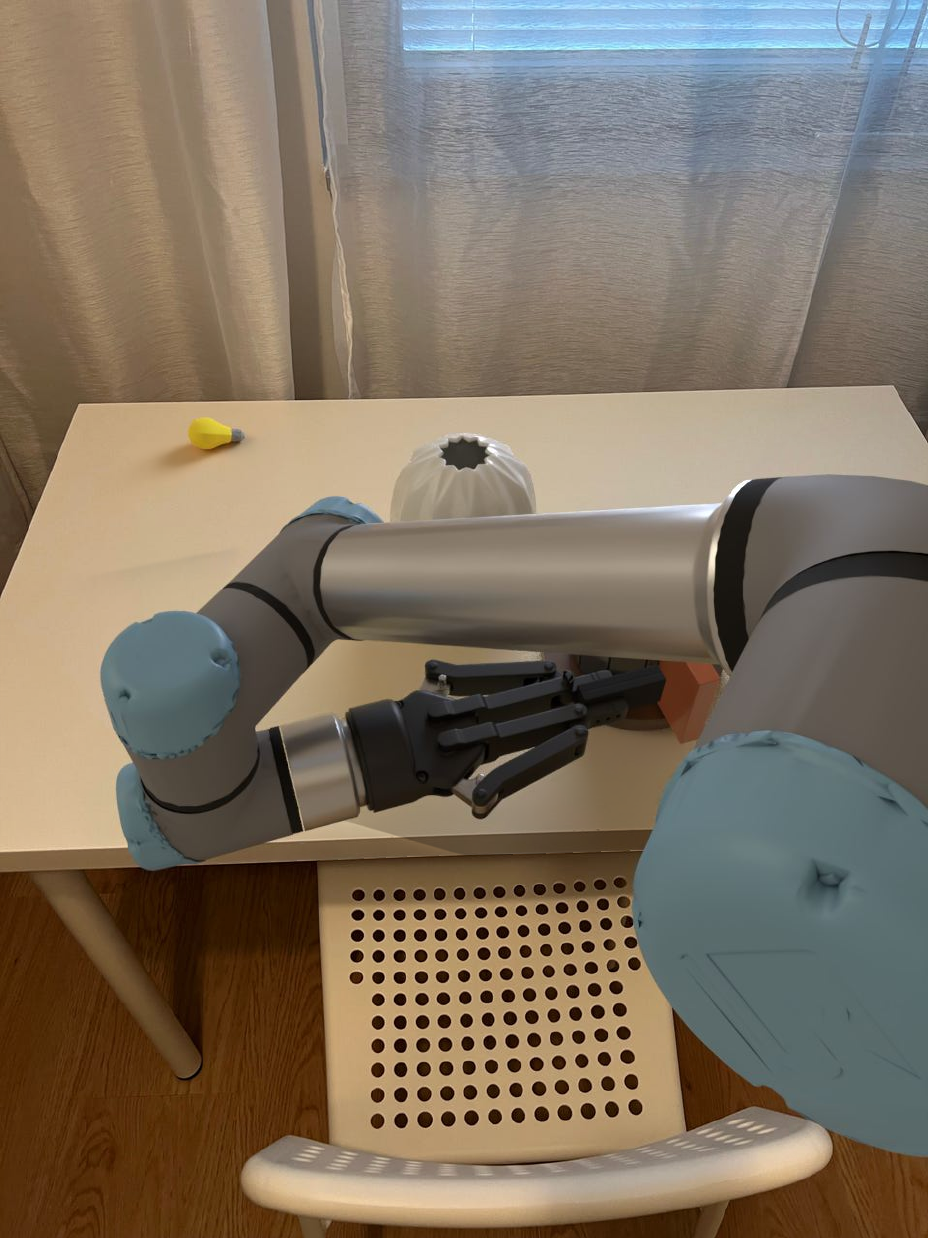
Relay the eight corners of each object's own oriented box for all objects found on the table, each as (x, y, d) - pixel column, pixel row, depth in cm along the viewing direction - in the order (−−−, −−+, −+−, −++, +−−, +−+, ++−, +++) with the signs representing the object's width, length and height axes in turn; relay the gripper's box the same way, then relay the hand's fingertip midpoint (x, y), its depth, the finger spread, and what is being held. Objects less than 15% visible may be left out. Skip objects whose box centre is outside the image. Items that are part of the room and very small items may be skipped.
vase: (533, 515, 96) (542, 407, 86) (531, 617, 87) (541, 510, 77) (400, 508, 97) (394, 401, 87) (384, 609, 88) (375, 502, 78)
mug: (720, 618, 85) (744, 544, 78) (696, 752, 76) (722, 681, 69) (585, 588, 88) (597, 512, 80) (546, 713, 78) (556, 641, 71)
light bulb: (185, 442, 104) (187, 411, 102) (240, 446, 106) (243, 415, 104) (189, 453, 101) (190, 421, 99) (245, 456, 103) (248, 424, 102)
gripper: (337, 719, 73) (617, 650, 78) (379, 869, 65) (688, 780, 70) (328, 659, 67) (630, 588, 72) (372, 815, 59) (709, 723, 64)
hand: (658, 683), depth 71 cm, fingers closed
